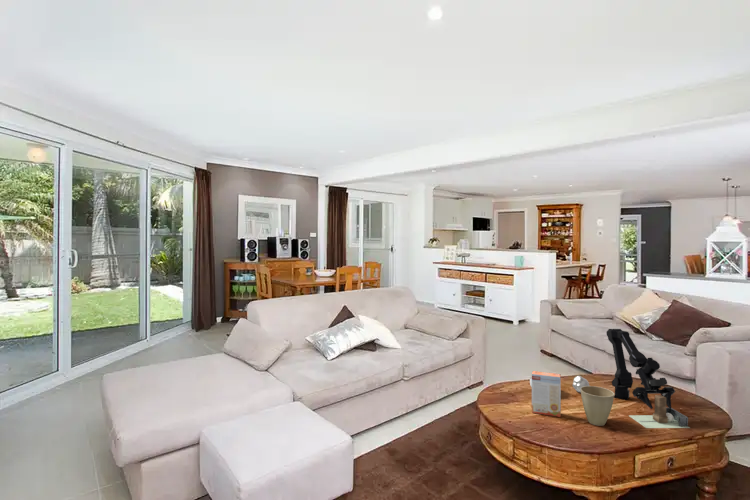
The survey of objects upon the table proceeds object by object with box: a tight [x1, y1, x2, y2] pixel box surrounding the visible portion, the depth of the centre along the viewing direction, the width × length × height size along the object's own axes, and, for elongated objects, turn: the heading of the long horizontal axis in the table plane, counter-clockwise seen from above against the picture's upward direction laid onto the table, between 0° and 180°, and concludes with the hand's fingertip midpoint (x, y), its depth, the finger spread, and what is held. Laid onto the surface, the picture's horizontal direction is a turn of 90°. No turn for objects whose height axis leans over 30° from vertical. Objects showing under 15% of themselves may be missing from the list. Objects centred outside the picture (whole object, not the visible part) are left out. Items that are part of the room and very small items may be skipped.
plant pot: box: [580, 385, 615, 427], centre depth 206 cm, size 15×15×16 cm
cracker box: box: [531, 370, 562, 418], centre depth 218 cm, size 14×6×21 cm, turn 65°
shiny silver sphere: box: [572, 375, 590, 394], centre depth 247 cm, size 9×10×10 cm
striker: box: [652, 394, 668, 423], centre depth 206 cm, size 4×4×12 cm
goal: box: [666, 407, 689, 427], centre depth 206 cm, size 4×12×4 cm, turn 0°
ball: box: [666, 413, 674, 422], centre depth 206 cm, size 4×4×4 cm
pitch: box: [628, 414, 691, 429], centre depth 206 cm, size 21×14×1 cm, turn 90°
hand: (661, 408), depth 205 cm, fingers open, 9 cm apart
